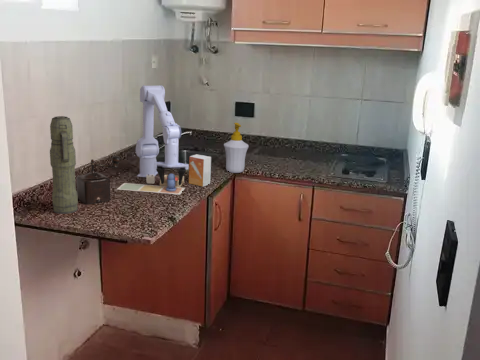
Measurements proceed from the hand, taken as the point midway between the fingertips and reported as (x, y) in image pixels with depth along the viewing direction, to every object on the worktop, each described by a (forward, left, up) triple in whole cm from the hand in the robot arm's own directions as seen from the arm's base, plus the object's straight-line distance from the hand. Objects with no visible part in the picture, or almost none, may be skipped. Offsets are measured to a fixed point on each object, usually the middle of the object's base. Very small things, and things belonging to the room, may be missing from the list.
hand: (171, 184), depth 213 cm
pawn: (0, 0, -3) cm, 3 cm away
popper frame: (-10, -2, -3) cm, 10 cm away
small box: (-14, +10, -3) cm, 17 cm away
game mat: (0, -9, -3) cm, 9 cm away
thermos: (+34, -32, -3) cm, 47 cm away
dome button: (-10, -2, -2) cm, 10 cm away
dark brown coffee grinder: (+18, -25, -3) cm, 31 cm away
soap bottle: (-41, +23, -3) cm, 47 cm away
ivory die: (-9, -12, -3) cm, 15 cm away
